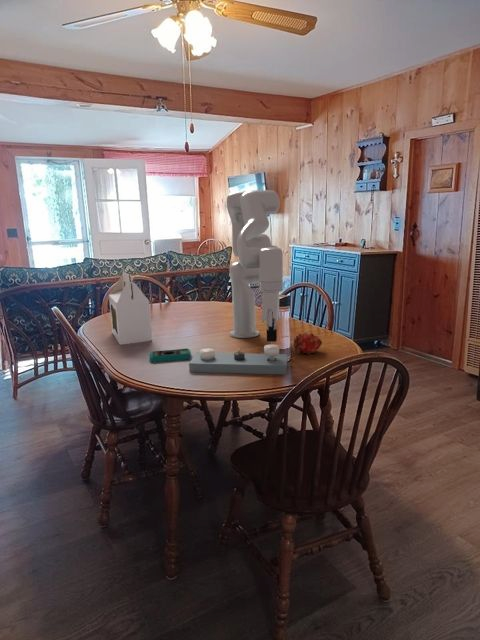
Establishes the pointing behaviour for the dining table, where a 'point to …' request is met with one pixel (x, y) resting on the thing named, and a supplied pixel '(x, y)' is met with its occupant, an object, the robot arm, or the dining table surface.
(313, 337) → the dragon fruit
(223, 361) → the mount board
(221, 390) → the dining table surface
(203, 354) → the knob
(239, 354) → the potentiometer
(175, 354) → the digital multimeter
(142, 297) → the gable box
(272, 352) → the knob
